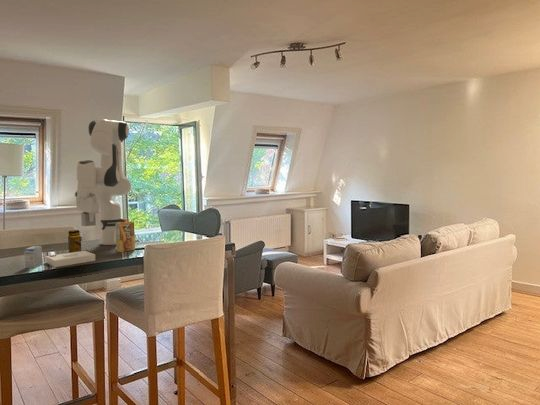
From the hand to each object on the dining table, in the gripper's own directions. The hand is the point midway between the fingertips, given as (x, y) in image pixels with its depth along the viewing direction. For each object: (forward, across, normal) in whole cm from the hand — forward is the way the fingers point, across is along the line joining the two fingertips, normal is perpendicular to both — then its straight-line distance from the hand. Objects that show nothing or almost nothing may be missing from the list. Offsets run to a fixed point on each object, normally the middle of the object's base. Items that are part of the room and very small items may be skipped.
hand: (88, 221), depth 211 cm
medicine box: (+19, 0, +25) cm, 31 cm away
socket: (+18, -3, +10) cm, 21 cm away
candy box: (+18, +2, -20) cm, 27 cm away
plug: (+2, 0, 0) cm, 2 cm away
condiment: (+18, +18, +2) cm, 25 cm away
